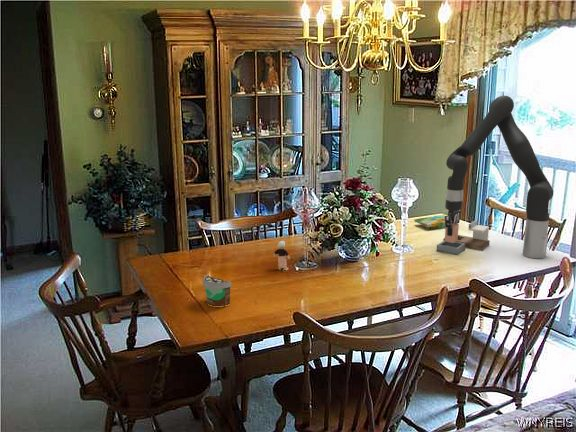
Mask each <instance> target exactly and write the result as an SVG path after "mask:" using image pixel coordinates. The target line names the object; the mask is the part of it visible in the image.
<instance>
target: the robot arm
mask: <svg viewBox="0 0 576 432" xmlns="http://www.w3.org/2000/svg"><path fill="white" fill-rule="evenodd" d="M514 107H515V102H514V100H513V99H512V97H510V96H509V95H499V96H497V97H496V98H494V100H493V101H491V103H490V105H489V109H488V110H489V111H488V112H487V114H486V115H485V117H484V118H483V119H482V120H481V121H480V123H479V124H478V125H477V126H476V127H475V128H473V130H472V131H471V133H470V134H468V136H467V138H466V139H465V140H464V141H463V143H461V145H460V146H459V147H457V148H456V149H455V150H454V151H452V152H451V153H450V155H449V156H448V157H447V159H446V162H445V165H446V167H447V168H448V169H450V170H452V175H450V176H448V178H447V183H446V185H447V187H446V193H445V194H446V195H445V205H444V206H445V207H444V208H445V209H446V210H447V215H445V227H447V228H448V229H447V235H448V236H452V231H453V224H460V220H461V214H462V209H463V204H464V203H463V202H464V201H463V200H464V183H465V179H466V175H467V172H468V168H469V163H468V159H467V158H468V157H471V156H474V155H475V154H476V153H477V152H478V150H479V149H480V148H481V147H482V146H483V144H484V143H485V141H486V140H487V138H488V137H489V136H490V135H491V133H492V132H493V130H494V129H495V128H496V127H498V129H499V131H500V133H501V135H502V138H503V141H504V143H505V145H506V147H507V150H508V152H509V154H510V156H511V159H512V160H513V163H515V165H516V167H518V169H519V170H520V171H521V172H522V173H523V175H524V176H525V178H526V180H527V182H528V185H529V187H530V188H529V189H528V190H527V193H526V205H525V213H526V219H525V227H524V235H523V236H524V237H523V246H522V247H523V248H522V255H523V256H524V257H526V258H532V259H544V258H545V257H546V256H547V249H548V242H549V241H548V240H549V235H548V230H549V221H550V213H549V208H550V207H549V205H550V201H551V200H552V199H553V197H554V190H553V189H554V188H553V187H552V185H551V183H550V181H549V180H548V179H547V177H546V175H545V174H544V172H543V170H542V167H541V165H540V163H539V160H538V158H537V156H536V153H535V151H534V149H533V147H532V145H531V142H530V140H529V139H528V137H527V136H526V134H524V132H523V130H522V129H521V128H519V126H518V124H517V123H516V121H515V119H514V116H513V114H512V112H513V111H514ZM451 221H452V222H451ZM451 223H452V224H451Z"/></svg>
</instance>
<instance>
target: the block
mask: <svg viewBox="0 0 576 432" xmlns="http://www.w3.org/2000/svg"><path fill="white" fill-rule="evenodd" d="M451 224H452V223H451ZM459 224H460V223H458V224H453V231H452V236H448V235H447V229H448V228H447V227H446V228H444V230H445V231H444V232H445V233H444V238H445V242H451V243H455V242H456V241H458V235H459V228H460V227H459Z"/></svg>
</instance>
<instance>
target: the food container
mask: <svg viewBox="0 0 576 432" xmlns="http://www.w3.org/2000/svg"><path fill="white" fill-rule="evenodd" d="M209 275H210V274H209V273H208V274H206V275H205V276H204V277H203V279H202V286H204V290H205V296H206V297H205V298H206V304H207V303H208V304H209V305H212V306H225V305H228V304H230V303H231V288H232V281H231V280H228V281H225V280H223V279H221V278H218V277H217V278H216V277H213V276H209ZM208 304H207V305H208Z"/></svg>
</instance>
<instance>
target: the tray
mask: <svg viewBox="0 0 576 432" xmlns="http://www.w3.org/2000/svg"><path fill="white" fill-rule="evenodd" d="M465 245H466V244H465V243H460V242H455V243H451V242H445V240H444V241H440V242H439V243H438V244H436V248H435V249H436V252H439V253H444V254H449V255H454V256H458V255H460V254H461V253H462V252H465V250H466V248H465Z"/></svg>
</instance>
